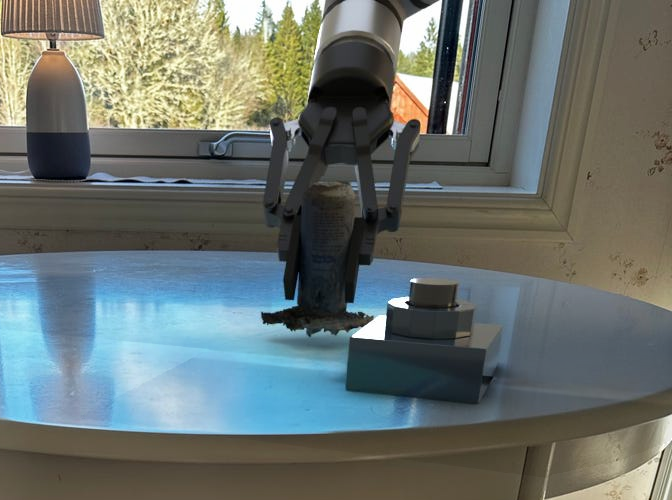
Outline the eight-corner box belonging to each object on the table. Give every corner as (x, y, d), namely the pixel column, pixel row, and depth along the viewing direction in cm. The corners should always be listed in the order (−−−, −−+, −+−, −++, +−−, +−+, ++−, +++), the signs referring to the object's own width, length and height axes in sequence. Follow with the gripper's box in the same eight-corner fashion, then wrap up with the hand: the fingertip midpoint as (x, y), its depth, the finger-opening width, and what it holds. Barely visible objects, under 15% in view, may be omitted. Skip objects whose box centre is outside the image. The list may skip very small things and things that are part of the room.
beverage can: (312, 342, 81) (325, 185, 75) (255, 326, 86) (262, 179, 80) (388, 330, 85) (405, 182, 80) (329, 316, 91) (341, 177, 85)
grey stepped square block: (495, 375, 78) (507, 298, 75) (477, 404, 70) (490, 319, 67) (374, 363, 81) (381, 289, 78) (344, 390, 73) (351, 309, 70)
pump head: (458, 307, 74) (462, 279, 73) (451, 315, 71) (455, 286, 70) (412, 304, 75) (415, 276, 74) (403, 311, 72) (406, 282, 71)
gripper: (448, 107, 89) (421, 323, 83) (262, 105, 92) (223, 313, 86) (456, 35, 82) (427, 266, 75) (255, 37, 85) (211, 257, 79)
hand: (318, 291), depth 81 cm, fingers closed on beverage can, 4 cm apart
